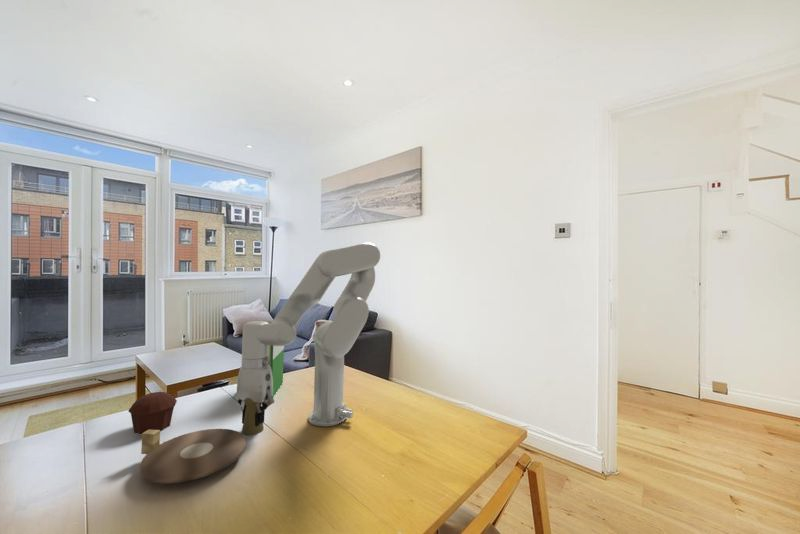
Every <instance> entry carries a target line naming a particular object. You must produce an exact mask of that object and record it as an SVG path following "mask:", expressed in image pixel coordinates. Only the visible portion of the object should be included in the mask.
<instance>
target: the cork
mask: <svg viewBox="0 0 800 534" xmlns="http://www.w3.org/2000/svg"><path fill="white" fill-rule="evenodd" d="M244 402H245V405H246V410H245V416H244V422H243V423H242V428H241V434H242V435H243V436H253V435H254V436H255V435H257V434H261V432H263V431H264V429H265V427H264V422H263V423H262V424H261V423H260V424H259V426H255V413H257V406H256V403H257V402H253V400H252V399H250V398H246V399H245V400H244Z"/></svg>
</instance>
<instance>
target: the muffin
mask: <svg viewBox="0 0 800 534" xmlns="http://www.w3.org/2000/svg"><path fill="white" fill-rule="evenodd" d="M177 401H178V400H177V399H176V398H175V396H174V395H172V394H171V393H168V392H165V391H155V392H151V393H146V394H145V395H142V396H141V397H139V398H137V399H136V400H135V401H134V403H133V404H132V405H131V406H130V407H129V409H128V412H129V413H130V416H131V422H132V427H133V433H134V434H137V433H138V434H137V435H139V434H142V433H144V432H146V431H147V430H160V432H162V431H164V430H165V429H167V428H169V427H170V426H171V423H172V417H173V413H174V407H175V406H176V404H177Z"/></svg>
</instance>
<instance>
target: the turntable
mask: <svg viewBox="0 0 800 534" xmlns="http://www.w3.org/2000/svg"><path fill="white" fill-rule="evenodd" d="M160 441H161V431H160V430H147V431H146V432H144V433H142V435H141V453H140V454H141V455H144V457H143V458H142V459H141V461H140V463H139V464H140V465H139V472H140V476H141V477H142V478H143V479H144V480H147V481H148V482H153V483H156V484H178V483H185V482H190V481H194V480H198V479H200V478H201V479H202V478H204V477H207V476H209V475H213V474H215V473H217V472H220V471H222V470H223V469H225V468H226V467H228V466H230V465H232V464H233V463H234V462H236V461H237V460H238V459H239V458H240V457H241V456H242V455H243V454H244V452H245V450H246V443H247V442H246V437H245V435H244V434H242V432H239V431H237V430H234V429H230V428H209V429H202V430H196V431H193V432H192V431H191V432H188V433H184V434H181V435H178V436H175V437H173V438H171V439H168V440H166V441H164V442H162V443H160Z"/></svg>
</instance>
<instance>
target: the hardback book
mask: <svg viewBox="0 0 800 534" xmlns="http://www.w3.org/2000/svg"><path fill="white" fill-rule="evenodd" d="M284 356H285V346H272V345H269V360H270V361H271V364H270V365H268V366H271V370H272V377H273V398H274V397H275V396H274V395H276V394H277V393H278V391H279V390H280V389H281V387H282V386H283V384H284V383H283V382H284V358H285V357H284ZM282 383H283V384H282ZM281 385H282V386H281ZM280 386H281V387H280ZM278 389H279V390H278ZM276 392H277V393H276Z"/></svg>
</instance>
